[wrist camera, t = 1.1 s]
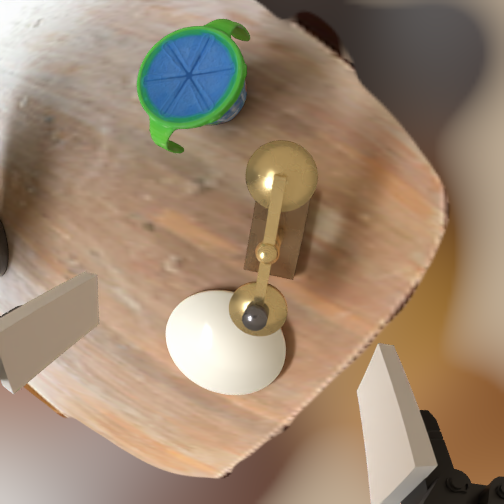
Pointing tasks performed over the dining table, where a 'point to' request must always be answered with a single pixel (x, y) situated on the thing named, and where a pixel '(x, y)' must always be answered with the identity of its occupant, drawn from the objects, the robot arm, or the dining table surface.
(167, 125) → the snack cup
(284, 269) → the balance
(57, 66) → the dining table surface
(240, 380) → the dish
